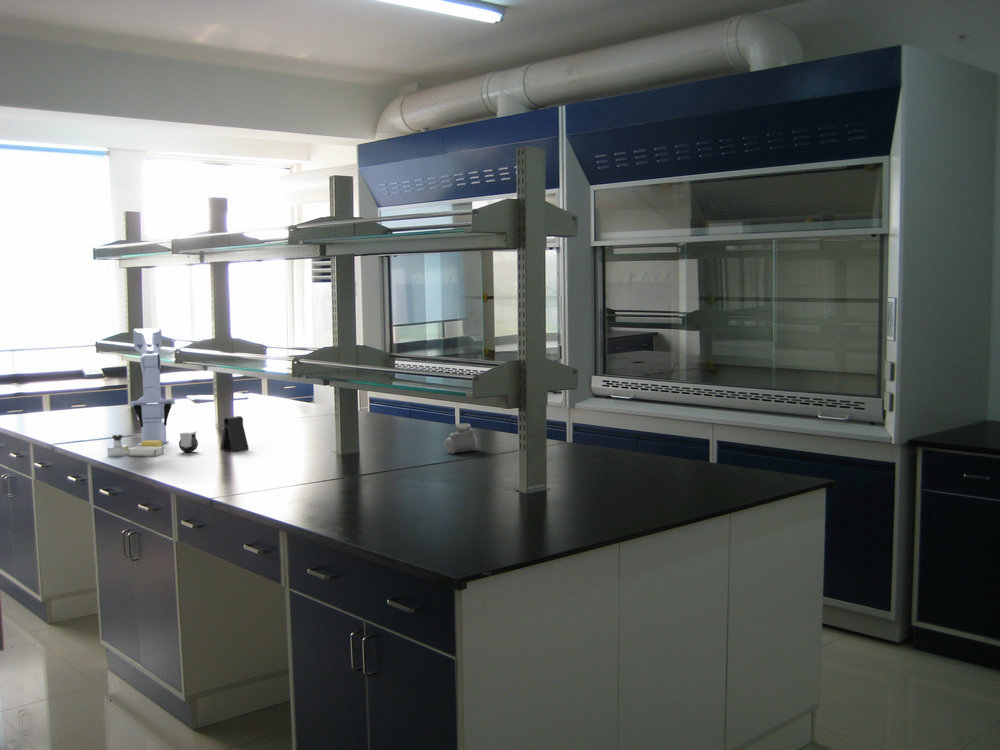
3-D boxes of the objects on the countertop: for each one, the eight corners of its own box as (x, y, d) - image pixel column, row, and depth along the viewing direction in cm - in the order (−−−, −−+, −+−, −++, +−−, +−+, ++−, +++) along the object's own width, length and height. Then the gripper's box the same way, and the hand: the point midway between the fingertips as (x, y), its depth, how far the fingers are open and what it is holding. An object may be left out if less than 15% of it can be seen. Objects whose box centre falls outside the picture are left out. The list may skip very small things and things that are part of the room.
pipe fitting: (469, 447, 328) (467, 420, 325) (482, 452, 321) (480, 424, 319) (442, 454, 321) (440, 427, 318) (454, 459, 314) (452, 431, 312)
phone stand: (220, 449, 330) (219, 416, 329) (234, 447, 334) (233, 415, 333) (234, 452, 324) (233, 419, 323) (248, 449, 328) (247, 417, 327)
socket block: (115, 453, 323) (115, 445, 322) (128, 453, 322) (128, 445, 322) (107, 455, 318) (107, 447, 318) (121, 456, 317) (120, 447, 317)
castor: (183, 450, 327) (182, 431, 326) (199, 451, 326) (198, 431, 325) (178, 453, 322) (177, 433, 322) (193, 453, 322) (193, 433, 321)
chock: (146, 450, 328) (146, 440, 328) (162, 451, 328) (162, 440, 327) (141, 452, 324) (140, 442, 324) (157, 453, 324) (156, 442, 323)
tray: (137, 452, 323) (137, 446, 323) (163, 453, 322) (163, 446, 322) (128, 455, 317) (128, 449, 317) (155, 456, 316) (155, 449, 316)
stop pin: (116, 453, 322) (115, 434, 321) (124, 454, 321) (123, 434, 321) (111, 455, 319) (110, 436, 318) (120, 455, 318) (119, 436, 318)
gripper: (129, 388, 309) (131, 427, 309) (174, 386, 315) (176, 425, 315) (129, 388, 316) (131, 427, 316) (173, 386, 321) (175, 424, 321)
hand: (153, 426), depth 316 cm, fingers open, 7 cm apart
